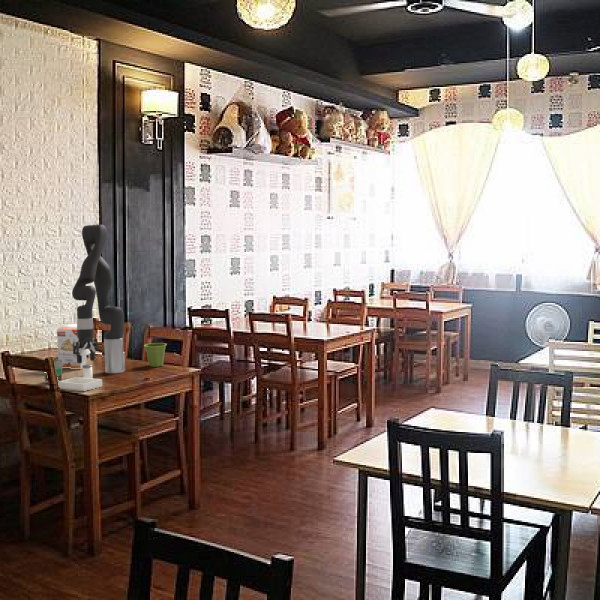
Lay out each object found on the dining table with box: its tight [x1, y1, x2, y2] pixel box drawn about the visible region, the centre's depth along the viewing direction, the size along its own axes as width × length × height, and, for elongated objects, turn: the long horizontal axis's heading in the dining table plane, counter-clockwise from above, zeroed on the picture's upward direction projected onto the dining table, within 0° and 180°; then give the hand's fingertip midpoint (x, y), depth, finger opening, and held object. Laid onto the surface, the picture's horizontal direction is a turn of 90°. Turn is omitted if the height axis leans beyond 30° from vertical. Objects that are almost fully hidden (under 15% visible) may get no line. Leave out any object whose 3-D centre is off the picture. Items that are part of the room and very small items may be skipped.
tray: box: [58, 376, 103, 392], centre depth 355 cm, size 12×16×4 cm
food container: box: [44, 358, 63, 385], centre depth 369 cm, size 12×6×10 cm, turn 168°
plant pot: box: [143, 342, 168, 368], centre depth 408 cm, size 12×12×11 cm
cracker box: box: [56, 328, 88, 368], centre depth 405 cm, size 14×6×21 cm, turn 68°
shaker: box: [82, 364, 94, 379], centre depth 368 cm, size 4×4×8 cm
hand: (86, 361), depth 367 cm, fingers open, 8 cm apart
